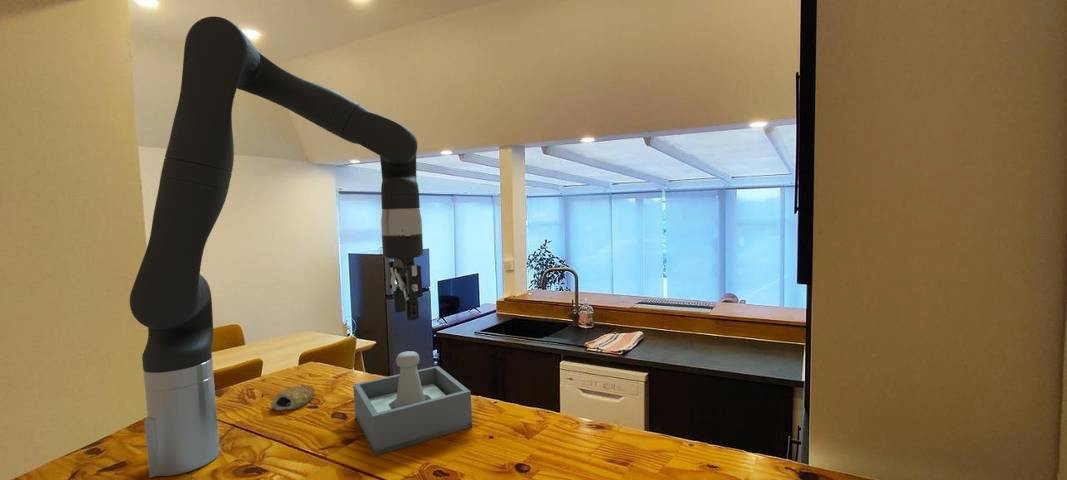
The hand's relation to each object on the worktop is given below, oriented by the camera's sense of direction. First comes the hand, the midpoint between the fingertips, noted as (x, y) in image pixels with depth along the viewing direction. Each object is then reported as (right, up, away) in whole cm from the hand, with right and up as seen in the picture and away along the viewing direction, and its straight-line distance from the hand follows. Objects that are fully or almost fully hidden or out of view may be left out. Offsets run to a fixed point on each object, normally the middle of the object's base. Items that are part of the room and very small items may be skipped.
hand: (406, 315), depth 88 cm
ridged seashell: (-29, -22, +13) cm, 39 cm away
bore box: (+1, -21, +1) cm, 21 cm away
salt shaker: (+1, -21, +1) cm, 21 cm away
